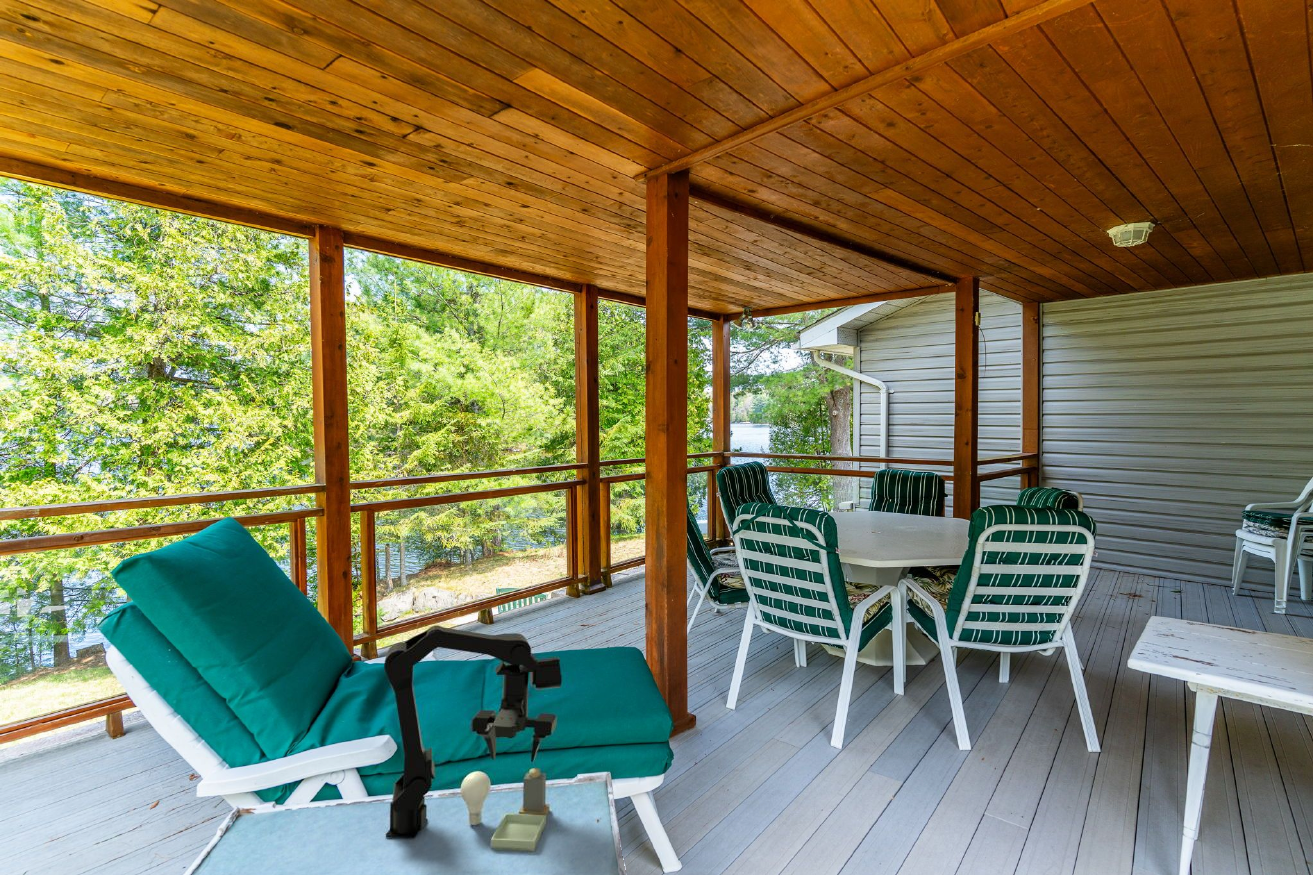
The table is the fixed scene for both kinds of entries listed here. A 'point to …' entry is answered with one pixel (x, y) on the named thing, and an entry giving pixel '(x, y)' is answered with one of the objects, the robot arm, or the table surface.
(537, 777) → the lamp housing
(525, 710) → the robot arm
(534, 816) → the tray
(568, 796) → the table surface
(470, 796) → the lightbulb
